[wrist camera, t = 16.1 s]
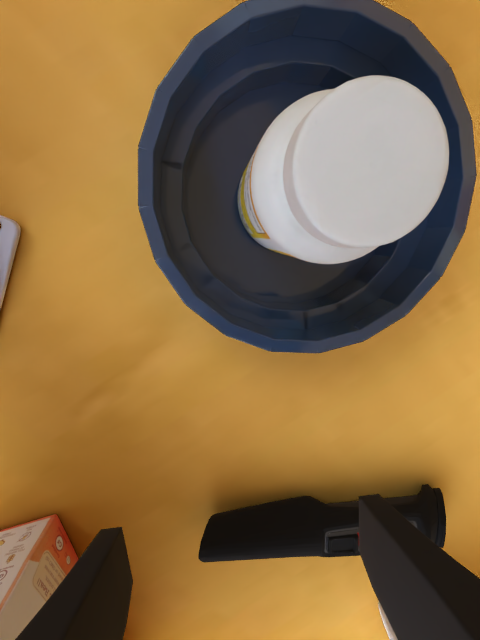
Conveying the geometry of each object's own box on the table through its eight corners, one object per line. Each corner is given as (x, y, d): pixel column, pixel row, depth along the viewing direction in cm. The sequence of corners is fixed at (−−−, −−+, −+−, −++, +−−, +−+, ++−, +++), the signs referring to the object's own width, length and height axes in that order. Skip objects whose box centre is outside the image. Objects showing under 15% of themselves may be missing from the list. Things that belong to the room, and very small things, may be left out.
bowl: (121, 275, 19) (93, 288, 14) (212, -3, 16) (211, -91, 12) (347, 359, 21) (383, 392, 16) (460, 125, 18) (538, 90, 14)
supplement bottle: (215, 208, 18) (217, 178, 8) (283, 118, 17) (367, -22, 8) (295, 274, 19) (374, 314, 10) (362, 193, 18) (519, 148, 9)
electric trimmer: (199, 490, 22) (196, 531, 19) (436, 477, 23) (470, 515, 20) (202, 539, 23) (199, 585, 20) (430, 525, 24) (461, 568, 21)
